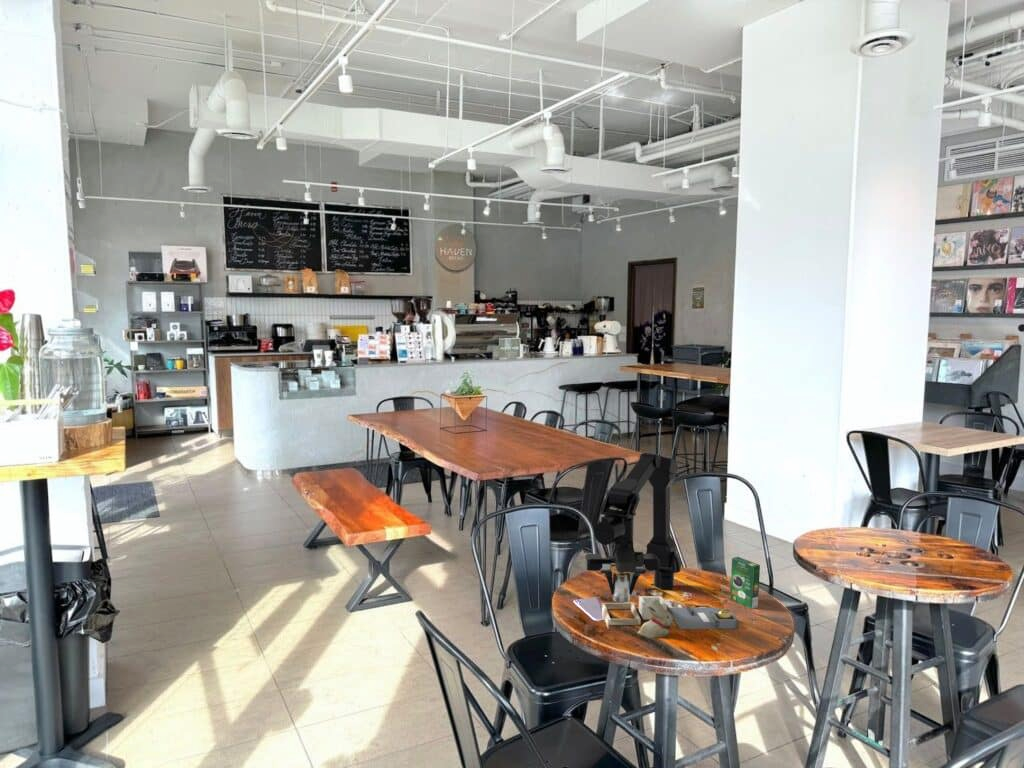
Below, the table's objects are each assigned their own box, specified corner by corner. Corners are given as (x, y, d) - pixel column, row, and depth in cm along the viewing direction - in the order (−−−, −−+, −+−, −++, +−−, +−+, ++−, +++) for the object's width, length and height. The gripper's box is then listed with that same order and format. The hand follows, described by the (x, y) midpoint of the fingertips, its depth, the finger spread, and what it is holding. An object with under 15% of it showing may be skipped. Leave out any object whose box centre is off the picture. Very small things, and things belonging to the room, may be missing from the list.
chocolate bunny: (664, 646, 172) (665, 606, 171) (634, 638, 177) (635, 598, 176) (674, 639, 176) (674, 599, 176) (645, 631, 181) (645, 592, 180)
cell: (614, 602, 185) (614, 574, 184) (611, 596, 189) (611, 568, 189) (631, 602, 185) (631, 574, 184) (628, 596, 189) (628, 568, 189)
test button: (715, 617, 184) (716, 607, 184) (728, 617, 184) (728, 607, 184) (719, 622, 181) (719, 612, 181) (732, 622, 181) (732, 612, 181)
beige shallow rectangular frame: (602, 612, 193) (602, 602, 193) (632, 612, 193) (632, 602, 193) (608, 629, 182) (608, 619, 182) (640, 629, 182) (640, 619, 182)
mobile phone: (594, 619, 187) (571, 599, 201) (594, 622, 187) (571, 602, 201) (621, 615, 189) (596, 596, 203) (621, 619, 189) (596, 599, 203)
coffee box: (759, 611, 194) (761, 564, 193) (752, 613, 193) (753, 565, 192) (737, 601, 201) (738, 555, 200) (729, 603, 200) (730, 557, 199)
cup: (638, 614, 191) (639, 596, 191) (661, 614, 192) (661, 596, 191) (643, 623, 185) (643, 604, 185) (666, 623, 186) (666, 604, 185)
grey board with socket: (664, 611, 194) (664, 600, 193) (721, 611, 194) (721, 600, 194) (677, 633, 180) (677, 620, 179) (738, 633, 180) (738, 620, 180)
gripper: (589, 544, 178) (589, 606, 179) (665, 544, 178) (663, 605, 179) (584, 532, 189) (584, 590, 190) (655, 532, 189) (654, 590, 190)
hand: (621, 594), depth 187 cm, fingers closed on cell, 4 cm apart
